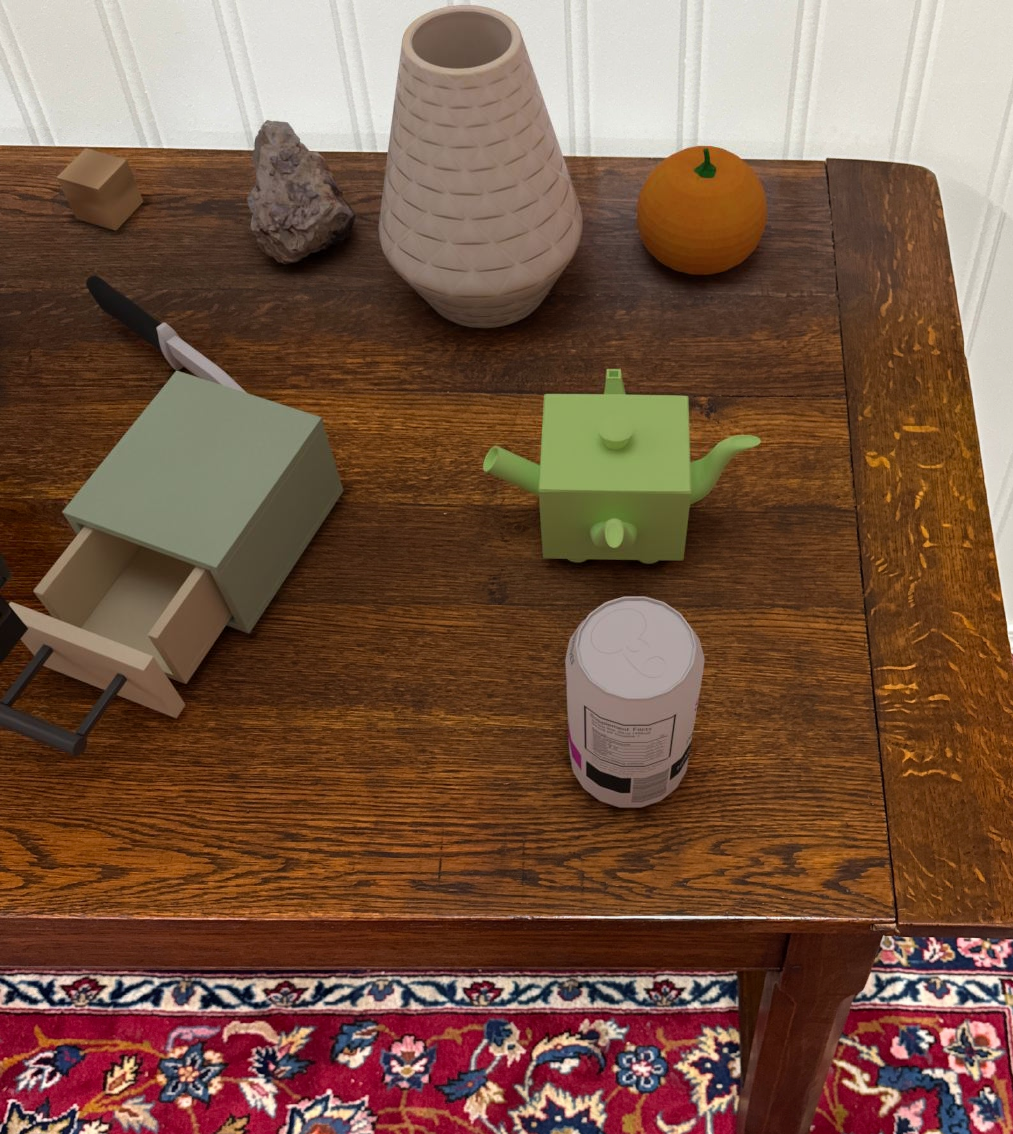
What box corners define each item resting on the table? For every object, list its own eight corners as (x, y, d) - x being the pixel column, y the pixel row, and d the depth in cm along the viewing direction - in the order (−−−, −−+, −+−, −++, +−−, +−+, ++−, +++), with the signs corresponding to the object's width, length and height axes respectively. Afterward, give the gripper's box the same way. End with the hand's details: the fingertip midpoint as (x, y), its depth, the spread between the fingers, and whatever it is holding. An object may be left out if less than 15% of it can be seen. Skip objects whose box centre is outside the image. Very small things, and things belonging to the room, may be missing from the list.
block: (75, 219, 108) (56, 177, 104) (103, 189, 110) (85, 147, 106) (116, 231, 107) (98, 189, 103) (143, 201, 109) (126, 159, 105)
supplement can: (545, 751, 79) (536, 639, 66) (634, 684, 82) (642, 564, 69) (622, 835, 76) (628, 735, 63) (712, 762, 78) (735, 652, 66)
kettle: (746, 524, 89) (765, 427, 79) (622, 635, 84) (626, 546, 74) (608, 423, 94) (610, 321, 85) (484, 521, 89) (470, 425, 80)
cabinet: (249, 634, 84) (216, 567, 77) (106, 581, 87) (61, 511, 79) (344, 490, 91) (321, 416, 84) (209, 445, 94) (176, 369, 86)
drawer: (126, 794, 77) (87, 750, 71) (-12, 737, 79) (-61, 690, 73) (274, 572, 86) (251, 516, 80) (147, 526, 88) (115, 469, 82)
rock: (277, 300, 106) (322, 251, 98) (186, 196, 102) (225, 137, 95) (337, 253, 111) (384, 202, 103) (252, 152, 107) (294, 92, 100)
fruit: (608, 245, 106) (610, 149, 97) (697, 189, 110) (706, 92, 101) (699, 310, 101) (708, 216, 92) (788, 249, 105) (805, 153, 96)
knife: (304, 448, 93) (290, 405, 89) (288, 460, 93) (273, 418, 88) (115, 310, 102) (94, 265, 97) (99, 321, 101) (77, 276, 97)
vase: (585, 222, 107) (583, -28, 87) (581, 356, 98) (578, 111, 78) (401, 221, 107) (357, -29, 88) (380, 354, 99) (326, 110, 79)
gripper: (-59, 344, 49) (130, 628, 70) (-291, 265, 52) (-43, 561, 72) (-179, 469, 46) (57, 729, 66) (-421, 378, 48) (-123, 656, 69)
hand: (4, 641), depth 69 cm, fingers closed
